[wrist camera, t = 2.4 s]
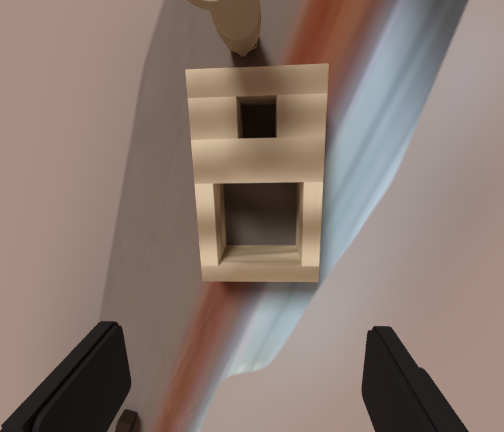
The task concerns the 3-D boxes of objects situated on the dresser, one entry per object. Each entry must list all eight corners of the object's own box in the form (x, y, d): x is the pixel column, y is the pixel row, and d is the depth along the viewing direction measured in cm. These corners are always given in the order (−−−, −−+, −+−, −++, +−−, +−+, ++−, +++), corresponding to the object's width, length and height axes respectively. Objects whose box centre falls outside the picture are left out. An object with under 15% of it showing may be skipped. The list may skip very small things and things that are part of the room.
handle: (278, 17, 26) (291, -133, 12) (250, 82, 28) (232, 18, 14) (234, -6, 26) (193, -190, 12) (209, 60, 28) (145, -28, 13)
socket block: (202, 84, 28) (185, 69, 23) (316, 80, 28) (328, 63, 22) (213, 257, 34) (202, 281, 28) (309, 257, 33) (318, 282, 27)
